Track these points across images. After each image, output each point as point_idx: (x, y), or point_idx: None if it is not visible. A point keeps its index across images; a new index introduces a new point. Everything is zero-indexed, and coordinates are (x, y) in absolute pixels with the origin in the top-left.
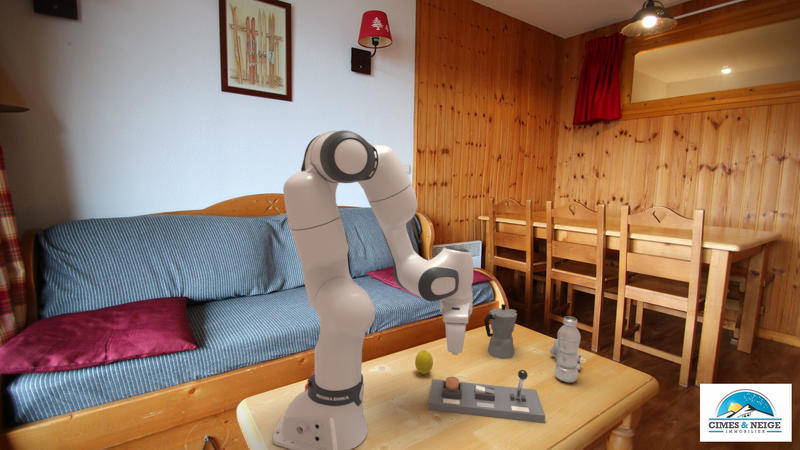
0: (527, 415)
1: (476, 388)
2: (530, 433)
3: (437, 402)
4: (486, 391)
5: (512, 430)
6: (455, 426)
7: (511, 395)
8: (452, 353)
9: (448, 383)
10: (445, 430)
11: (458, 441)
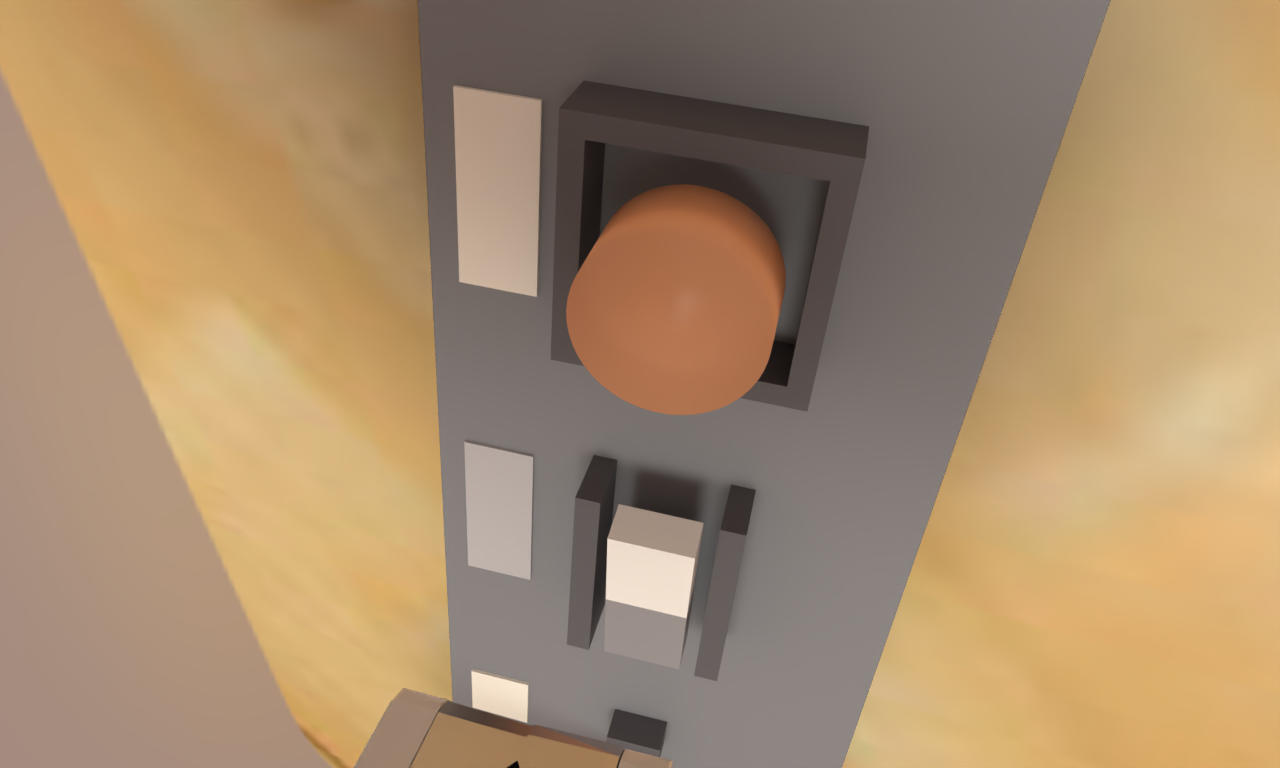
0: None
1: (618, 543)
2: (346, 653)
3: (447, 5)
4: (609, 608)
5: (343, 571)
6: (246, 158)
7: (632, 749)
8: (395, 708)
9: (593, 253)
10: (152, 45)
11: (59, 152)
